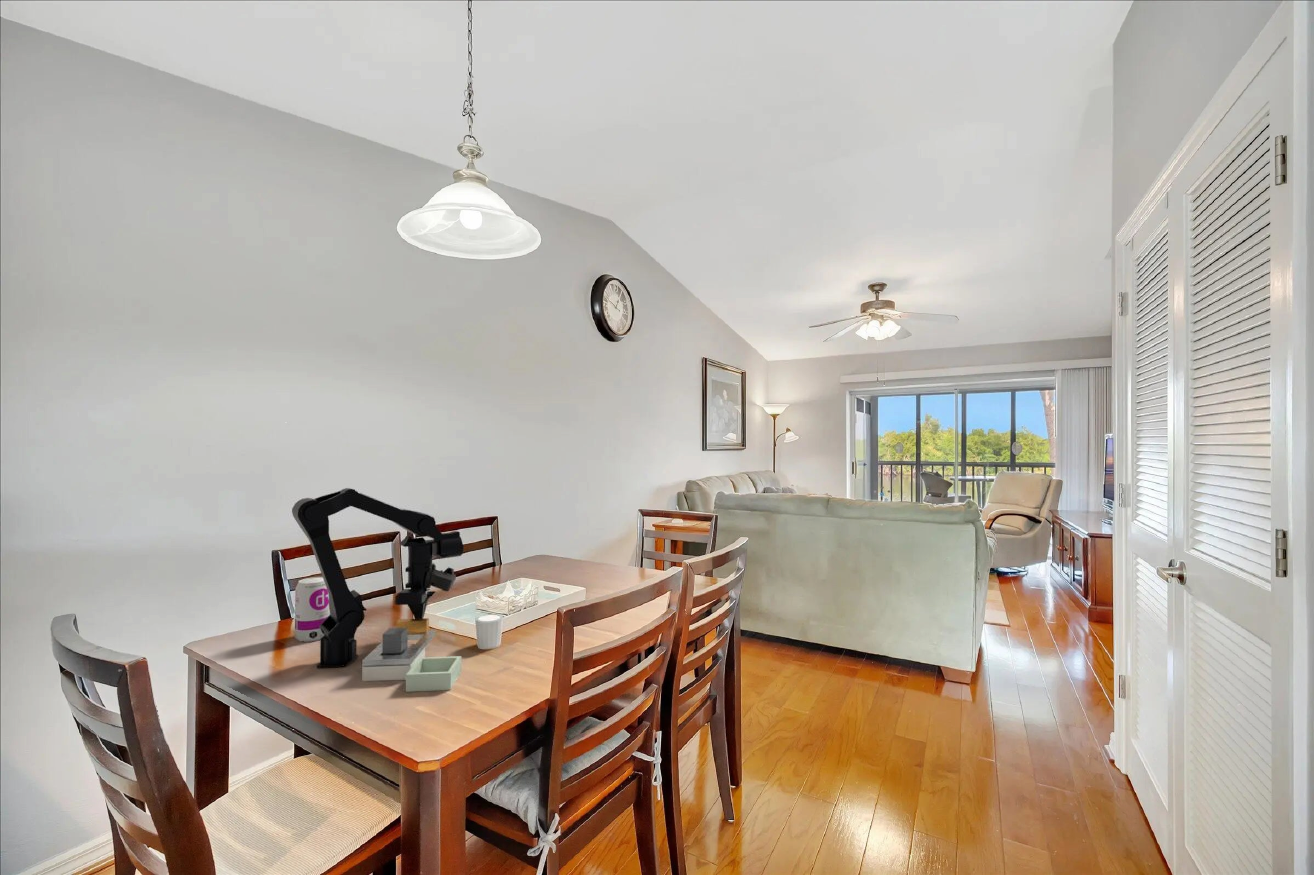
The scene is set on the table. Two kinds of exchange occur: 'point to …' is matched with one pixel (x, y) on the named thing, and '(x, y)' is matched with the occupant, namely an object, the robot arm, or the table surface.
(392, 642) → the peg
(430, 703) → the table surface
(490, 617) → the white cup
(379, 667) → the socket block
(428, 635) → the plate
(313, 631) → the supplement can
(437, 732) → the table surface
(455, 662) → the open box
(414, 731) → the table surface
